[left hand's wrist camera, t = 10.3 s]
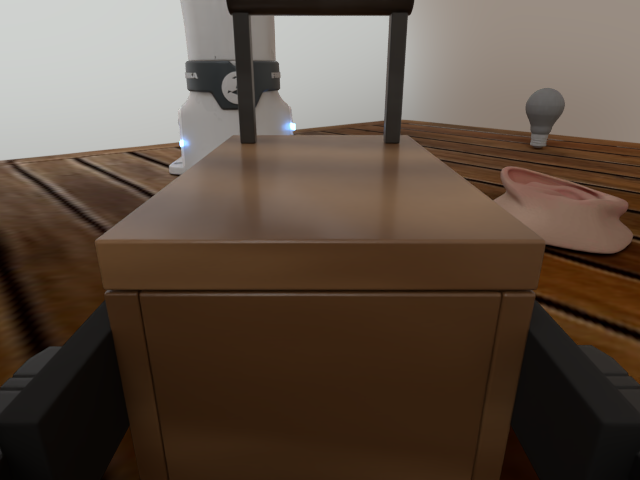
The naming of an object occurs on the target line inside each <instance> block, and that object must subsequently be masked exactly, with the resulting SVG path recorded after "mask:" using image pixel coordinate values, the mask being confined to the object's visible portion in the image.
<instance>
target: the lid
mask: <svg viewBox="0 0 640 480" xmlns="http://www.w3.org/2000/svg"><path fill="white" fill-rule="evenodd" d="M226 3H227V8H228V11H229V14H230V15H232V16H233V32H234V48H235V64H236V80H237V95H238V111H239V127H240V135H233V136H231V137H230V138H228V139H227V140H226V141H225V142H223V143H222V144H221V145H219V146H218V147H217V148H215V149H214V150H213V151H211V152H210V153H209V154H208V155H206V156H205V157H204V158H202V159H201V160H200V161H198V162H197V163H196V164H194V165H193V166H192V167H191V168H189V169H188V170H187V171H185V172H184V173H183V174H181V175H180V176H179V177H178V178H176V179H175V180H174V181H172V182H171V183H170V184H168V185H167V186H166V187H164V188H163V189H162V190H161V191H159V192H158V193H157V194H155V195H154V196H153V197H151V198H150V199H149V200H147V201H146V202H145V203H144V204H142V205H141V206H140V207H138V208H137V209H136V210H134V211H133V212H132V213H130V214H129V215H128V216H127V217H125V218H124V219H123V220H121V221H120V222H119V223H117V224H116V225H115V226H113V227H112V228H111V229H110V230H108V231H107V232H106V233H104V234H103V235H102V236H100V237H99V238H98V239H96V241H95V247H96V252H97V258H98V263H99V268H100V273H101V278H102V283H103V288H104V289H105V290H536V289H537V286H538V281H539V276H540V271H541V266H542V261H543V256H544V251H545V245H546V242H545V240H544V239H543V238H542V237H540V236H539V235H538V234H536V233H535V232H534V231H532V230H531V229H530V228H528V227H527V226H526V225H524V224H523V223H522V222H521V221H519V220H518V219H517V218H515V217H514V216H513V215H511V214H510V213H509V212H507V211H506V210H505V209H504V208H502V207H501V206H500V205H498V204H497V203H496V202H494V201H493V200H492V199H490V198H489V197H488V196H486V195H485V194H484V193H483V192H481V191H480V190H479V189H477V188H476V187H475V186H473V185H472V184H471V183H469V182H468V181H467V180H465V179H464V178H463V177H462V176H460V175H459V174H458V173H456V172H455V171H454V170H452V169H451V168H450V167H448V166H447V165H446V164H444V163H443V162H442V161H441V160H439V159H438V158H437V157H435V156H434V155H433V154H431V153H430V152H429V151H427V150H426V149H425V148H423V147H422V146H421V145H420V144H418V143H417V142H416V141H414V140H413V139H412V138H410V137H409V136H408V135H400V130H401V114H402V99H403V83H404V66H405V51H406V35H407V20H408V16H409V15H410V14H411V12H412V9H413V5H414V0H226ZM276 15H277V16H286V15H287V16H296V15H297V16H303V15H304V16H307V15H308V16H330V15H331V16H337V15H338V16H361V15H362V16H366V15H367V16H390V18H389V38H388V58H387V77H386V97H385V117H384V135H257V132H256V112H255V92H254V72H253V52H252V32H251V16H276Z"/></svg>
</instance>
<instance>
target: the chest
mask: <svg viewBox="0 0 640 480" xmlns="http://www.w3.org/2000/svg"><path fill="white" fill-rule="evenodd" d="M104 296H105V301H106V307H107V312H108V317H109V322H110V327H111V330H112V335H113V341H114V346H115V351H116V356H117V361H118V366H119V371H120V376H121V382H122V387H123V392H124V397H125V402H126V407H127V412H128V418H129V423H130V430H131V435H132V440H133V445H134V450H135V455H136V460H137V465H138V471H139V476H140V480H500V475H501V470H502V465H503V460H504V455H505V450H506V445H507V439H508V434H509V429H510V424H511V418H512V413H513V408H514V403H515V398H516V393H517V388H518V383H519V377H520V372H521V367H522V362H523V357H524V352H525V347H526V342H527V336H528V331H529V327H530V322H531V316H532V311H533V306H534V301H535V293H534V292H533V291H532V290H107V291H106V292H105V295H104Z"/></svg>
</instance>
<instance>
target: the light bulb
mask: <svg viewBox="0 0 640 480" xmlns="http://www.w3.org/2000/svg"><path fill="white" fill-rule="evenodd" d="M564 106H565V102H564V99H563V97H562V95H561V94H560V93H559V92H558V91H557V90H555V89H551V88H544V89H540V90H538V91H536V92H535V93H534V94H532V95H531V97H530V98H529V99H528V101H527V103H526V114H527V116H528V119H529V121H530V124H531V133H532V135H531V137H532V138H531V139H532V140H531V141H532V142H530V145H532V146H533V147H535V148H542V147H544V146H546V143H547V142H546V141H547V140H546V138H548V134H549V133H550V131H551V129H552V126H553V125H554V123H555V122H556V120H557V119H558V118H559V117H560V115H561V114H562V112H563V110H564Z"/></svg>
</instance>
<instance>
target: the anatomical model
mask: <svg viewBox="0 0 640 480" xmlns="http://www.w3.org/2000/svg"><path fill="white" fill-rule="evenodd" d="M501 181H502V183H503V185H504V187H505V188H506V192H505V193H504V194H503V195H501V196H500V197H498V198H496V199H495V200H493V201H494V202H496V203H497V204H498V205H500V206H501V207H502V208H504V209H505V210H506V211H507V212H509V213H510V214H511V215H513V216H514V217H515V218H517V219H518V220H519V221H521V222H522V223H523V224H524V225H526V226H527V227H528V228H530V229H531V230H532V231H534V232H535V233H536V234H538V235H539V236H540V237H542V238H543V239H544V240H545V242H546V245H551V246H556V247H561V248H566V249H571V250H577V251H583V252H590V253H599V254H611V253H616V252H619V251H621V250H623V249H624V248H625V247H626V246H628V245H629V244H630V243H631V241H632V238H633V234H632V232H631V231H630V230H629V229H628V228H627V227H626V226H625V225H624V224H623V223H621V221H620V220H619V217H620V216H621V215H622V214H623V213H625V212H626V211H627V209H628V203H627V202H626V201H625V200H623V199H620V198H617V197H615V196H611V195H608V194H605V193H602V192H599V191H596V190H593V189H590V188H588V187H585V186H582V185H579V184H576V183H573V182H570V181H567V180H563V179H559V178H556V177H553V176H549V175H546V174H542V173H539V172H535V171H532V170H528V169H524V168H519V167H512V166H509V167H505V168H503V169H502V171H501Z"/></svg>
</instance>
